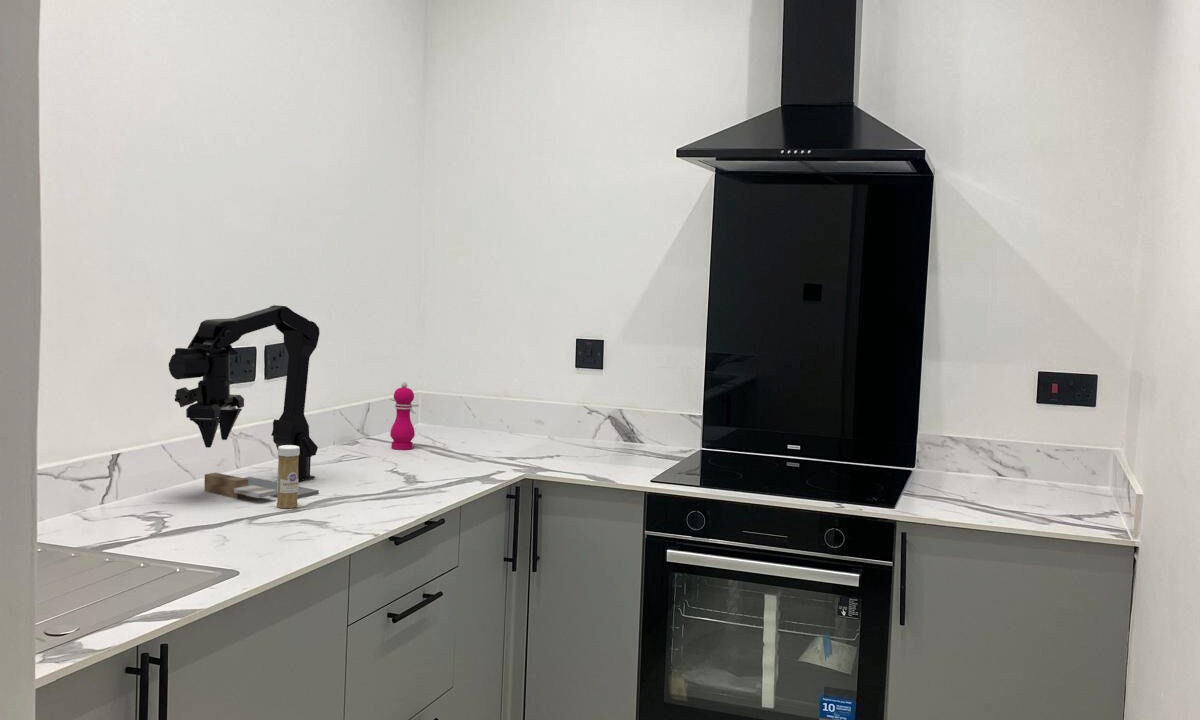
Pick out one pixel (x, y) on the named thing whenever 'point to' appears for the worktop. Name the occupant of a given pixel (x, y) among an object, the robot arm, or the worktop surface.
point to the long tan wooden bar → (234, 486)
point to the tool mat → (273, 485)
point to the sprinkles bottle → (287, 476)
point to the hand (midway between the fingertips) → (216, 443)
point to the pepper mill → (403, 419)
